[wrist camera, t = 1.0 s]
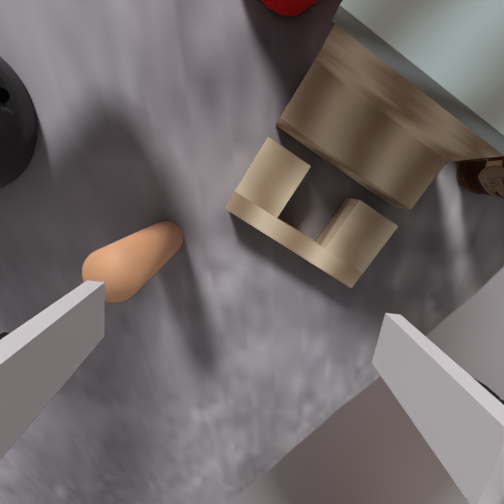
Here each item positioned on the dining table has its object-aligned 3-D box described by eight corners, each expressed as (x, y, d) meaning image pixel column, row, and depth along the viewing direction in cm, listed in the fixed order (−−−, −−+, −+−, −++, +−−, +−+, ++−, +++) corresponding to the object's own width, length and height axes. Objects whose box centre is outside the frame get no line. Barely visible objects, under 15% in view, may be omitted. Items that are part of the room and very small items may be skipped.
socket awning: (227, 205, 33) (200, 235, 14) (313, 63, 30) (426, -139, 11) (339, 276, 35) (445, 384, 16) (431, 152, 32) (693, 110, 13)
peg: (143, 243, 34) (72, 284, 20) (159, 214, 33) (97, 236, 19) (173, 260, 34) (124, 312, 21) (190, 232, 34) (150, 267, 20)
